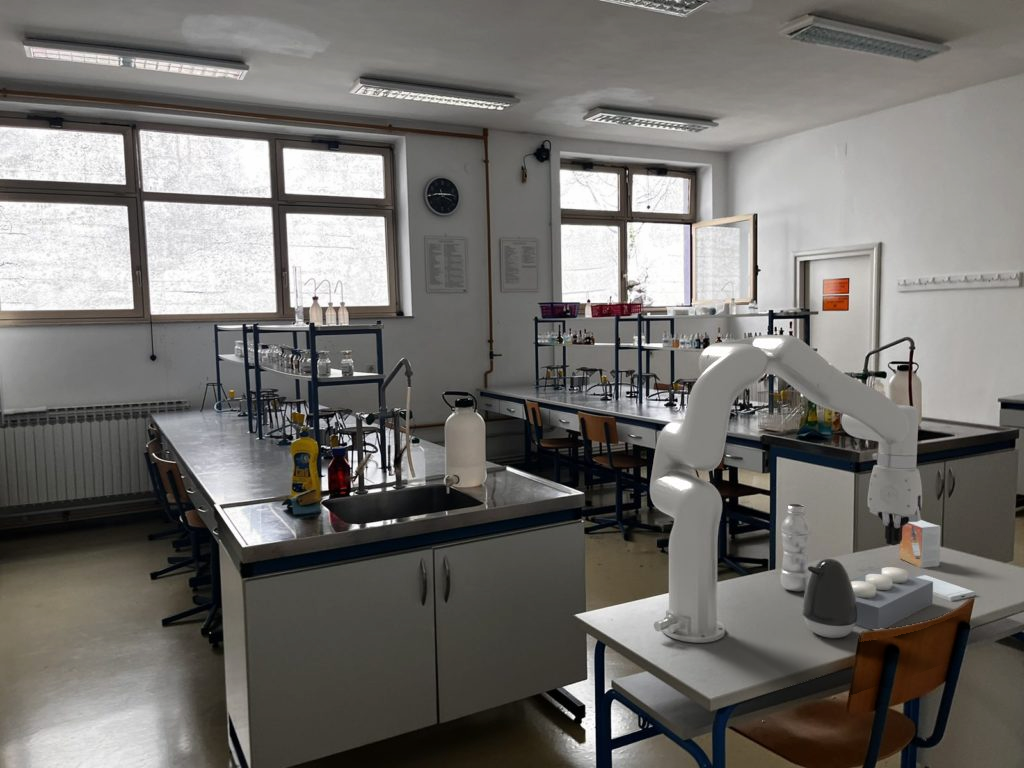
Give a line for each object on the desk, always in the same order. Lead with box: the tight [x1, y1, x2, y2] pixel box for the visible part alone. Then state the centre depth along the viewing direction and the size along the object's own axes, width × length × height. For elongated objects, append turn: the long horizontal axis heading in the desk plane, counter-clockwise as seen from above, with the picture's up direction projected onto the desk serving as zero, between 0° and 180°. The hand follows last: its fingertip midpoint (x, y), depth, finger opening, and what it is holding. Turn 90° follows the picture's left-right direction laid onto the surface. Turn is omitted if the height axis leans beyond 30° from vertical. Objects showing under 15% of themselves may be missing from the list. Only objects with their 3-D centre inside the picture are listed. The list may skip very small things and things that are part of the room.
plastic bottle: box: [779, 503, 812, 592], centre depth 175 cm, size 6×7×20 cm
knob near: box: [851, 581, 876, 599], centre depth 159 cm, size 5×5×6 cm
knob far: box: [881, 566, 909, 584], centre depth 168 cm, size 5×5×6 cm
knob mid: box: [866, 574, 892, 592], centre depth 164 cm, size 5×5×6 cm
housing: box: [850, 567, 934, 630], centre depth 164 cm, size 24×12×5 cm, turn 128°
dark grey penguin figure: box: [801, 558, 857, 639], centre depth 151 cm, size 10×10×15 cm
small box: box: [898, 519, 942, 569], centre depth 194 cm, size 8×6×10 cm
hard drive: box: [915, 574, 977, 602], centre depth 175 cm, size 2×8×12 cm
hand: (893, 543), depth 167 cm, fingers closed
